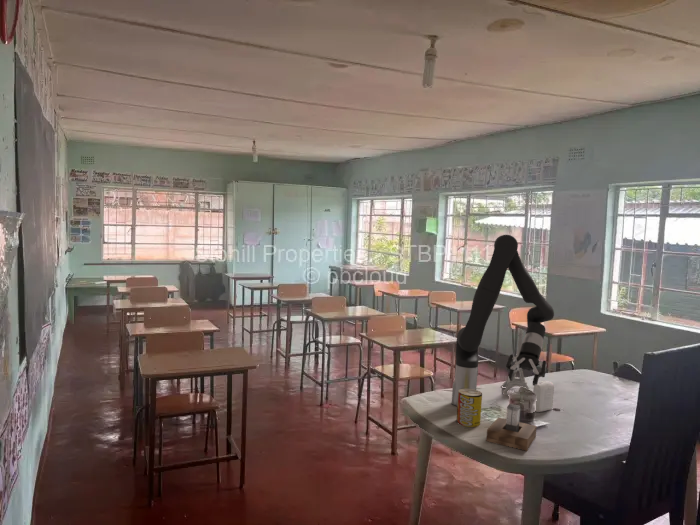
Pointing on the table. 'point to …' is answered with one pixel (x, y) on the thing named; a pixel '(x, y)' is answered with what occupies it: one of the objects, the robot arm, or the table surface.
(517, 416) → the white grey tall block
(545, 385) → the white rounded slab
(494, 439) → the stand
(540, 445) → the table surface
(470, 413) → the yellow tin can
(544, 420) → the table surface
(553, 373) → the table surface
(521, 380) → the eiffel tower
